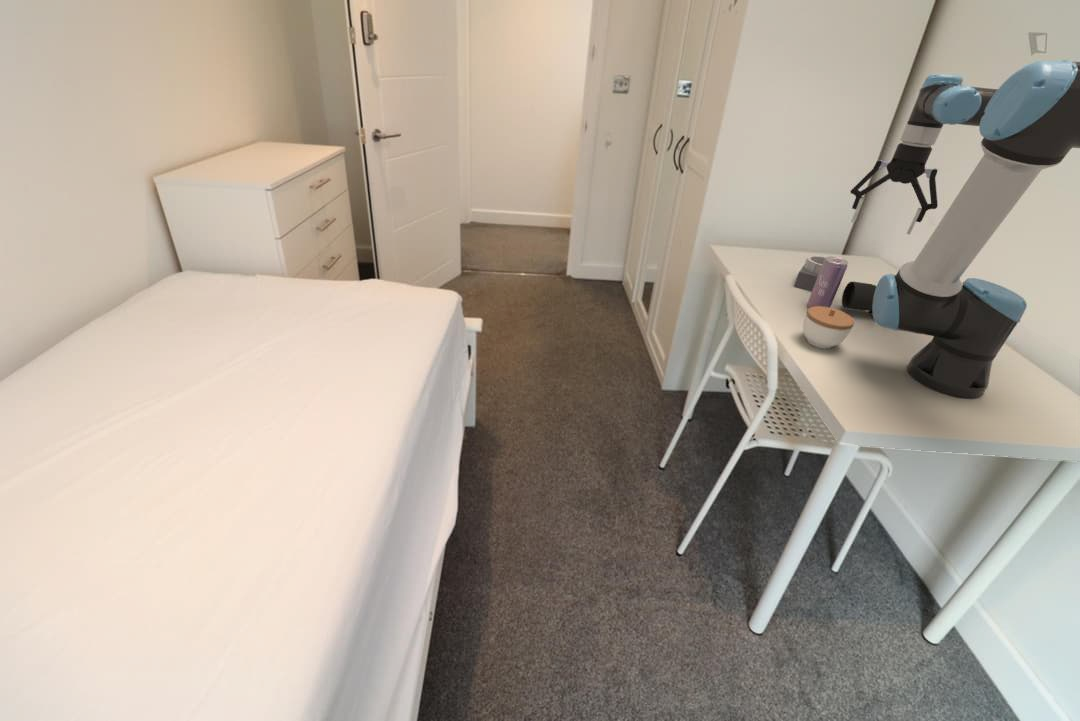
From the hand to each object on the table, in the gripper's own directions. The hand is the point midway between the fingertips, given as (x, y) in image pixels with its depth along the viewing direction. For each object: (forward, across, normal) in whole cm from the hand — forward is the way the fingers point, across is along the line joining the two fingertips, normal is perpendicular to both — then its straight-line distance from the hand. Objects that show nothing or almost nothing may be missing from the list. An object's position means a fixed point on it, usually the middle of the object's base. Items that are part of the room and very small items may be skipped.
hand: (880, 227), depth 139 cm
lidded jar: (+24, +1, +32) cm, 40 cm away
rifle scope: (+24, -11, +1) cm, 26 cm away
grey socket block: (+23, +11, -10) cm, 28 cm away
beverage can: (+24, +6, +10) cm, 27 cm away
